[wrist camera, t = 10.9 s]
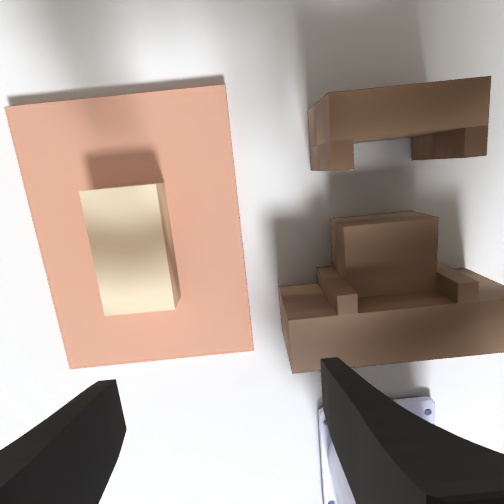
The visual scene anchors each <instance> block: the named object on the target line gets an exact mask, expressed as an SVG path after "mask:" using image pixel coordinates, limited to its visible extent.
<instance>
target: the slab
mask: <svg viewBox="0 0 504 504" xmlns="http://www.w3.org/2000/svg"><path fill="white" fill-rule="evenodd" d="M79 195H80V200H81V204H82V209H83V214H84V219H85V224H86V229H87V233H88V238H89V243H90V248H91V253H92V258H93V262H94V267H95V272H96V277H97V282H98V287H99V292H100V296H101V301H102V306H103V311H104V316H112V315H123V314H133V313H144V312H155V311H165V310H175V309H176V307H177V305H178V303H179V301H180V298H181V291H180V285H179V278H178V271H177V264H176V258H175V251H174V244H173V237H172V231H171V224H170V217H169V210H168V204H167V197H166V190H165V183H153V184H142V185H132V186H121V187H110V188H100V189H91V190H84V191H79Z"/></svg>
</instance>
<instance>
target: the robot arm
mask: <svg viewBox="0 0 504 504" xmlns="http://www.w3.org/2000/svg"><path fill="white" fill-rule="evenodd" d="M320 363H321V380H322V398H323V407H322V408H320V410H319V412H318V417H319V433H320V449H321V465H322V481H323V497H324V504H504V454H502V453H499V452H496V451H493V450H491V449H488V448H486V447H483V446H480V445H478V444H475V443H473V442H470V441H468V440H466V439H463V438H461V437H459V436H457V435H454V434H452V433H450V432H448V431H446V430H444V429H442V428H440V427H438V426H436V425H434V419H435V403H434V401H433V400H432V399H431V398H430V397H428V396H424V397H414V398H404V399H394V400H392V399H390V398H389V397H387V396H386V395H384V394H383V393H381V392H380V391H379V390H377V389H376V388H375V387H373V386H372V385H371V384H369V383H368V382H367V381H366V380H364V379H363V378H362V377H361V376H360V375H358V374H357V373H356V372H355V371H354V370H352V369H351V368H350V367H349V366H348V365H347V364H345V363H344V362H343V361H342V360H341V359H339V358H338V357H333V358H323V359H320ZM426 409H428V410H427V411H425V410H426ZM325 419H326V421H324V420H325ZM125 433H126V425H125V420H124V415H123V411H122V406H121V402H120V397H119V392H118V388H117V383H116V379H114V380H105V381H98V382H96V383H95V384H93V385H92V386H90V387H89V388H87V389H86V390H85V391H83V392H82V393H80V394H79V395H78V396H76V397H75V398H74V399H72V400H71V401H70V402H68V403H67V404H66V405H64V406H63V407H62V408H60V409H59V410H58V411H56V412H55V413H54V414H52V415H51V416H50V417H48V418H47V419H46V420H44V421H43V422H41V423H40V424H38V425H37V426H36V427H34V428H33V429H31V430H30V431H28V432H27V433H26V434H24V435H23V436H21V437H20V438H18V439H17V440H15V441H14V442H12V443H11V444H9V445H8V446H6V447H5V448H3V449H2V450H0V504H98V503H99V501H100V499H101V497H102V494H103V492H104V490H105V488H106V485H107V483H108V481H109V478H110V476H111V474H112V471H113V469H114V467H115V464H116V462H117V459H118V457H119V453H120V450H121V447H122V444H123V440H124V436H125ZM330 500H331V501H330Z"/></svg>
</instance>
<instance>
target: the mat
mask: <svg viewBox="0 0 504 504" xmlns="http://www.w3.org/2000/svg"><path fill="white" fill-rule="evenodd" d="M4 108H5V112H6V116H7V120H8V124H9V128H10V132H11V136H12V140H13V144H14V148H15V152H16V156H17V160H18V164H19V168H20V172H21V176H22V180H23V184H24V188H25V192H26V196H27V200H28V204H29V208H30V212H31V216H32V220H33V224H34V228H35V232H36V236H37V240H38V244H39V248H40V252H41V256H42V260H43V264H44V268H45V272H46V276H47V280H48V284H49V288H50V292H51V296H52V300H53V304H54V308H55V312H56V316H57V320H58V324H59V328H60V332H61V335H62V339H63V343H64V347H65V351H66V355H67V359H68V363H69V367H70V369H77V368H87V367H96V366H106V365H116V364H126V363H136V362H146V361H156V360H166V359H176V358H186V357H196V356H205V355H215V354H225V353H235V352H245V351H254V348H253V338H252V328H251V319H250V310H249V301H248V291H247V282H246V273H245V263H244V254H243V245H242V236H241V226H240V217H239V208H238V198H237V189H236V180H235V171H234V161H233V152H232V143H231V133H230V124H229V115H228V106H227V96H226V87H225V84H223V85H214V86H204V87H194V88H184V89H174V90H165V91H155V92H145V93H135V94H125V95H115V96H106V97H96V98H86V99H76V100H66V101H57V102H47V103H37V104H27V105H17V106H7V107H4ZM153 183H165V190H166V197H167V204H168V210H169V217H170V224H171V231H172V237H173V244H174V251H175V258H176V264H177V271H178V278H179V285H180V291H181V298H180V301H179V303H178V305H177V307H176V309H175V310H165V311H155V312H144V313H133V314H123V315H112V316H104V311H103V306H102V301H101V296H100V292H99V287H98V282H97V277H96V272H95V267H94V262H93V258H92V253H91V248H90V243H89V238H88V233H87V229H86V224H85V219H84V214H83V209H82V204H81V200H80V195H79V191H84V190H91V189H100V188H110V187H121V186H132V185H142V184H153Z"/></svg>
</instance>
